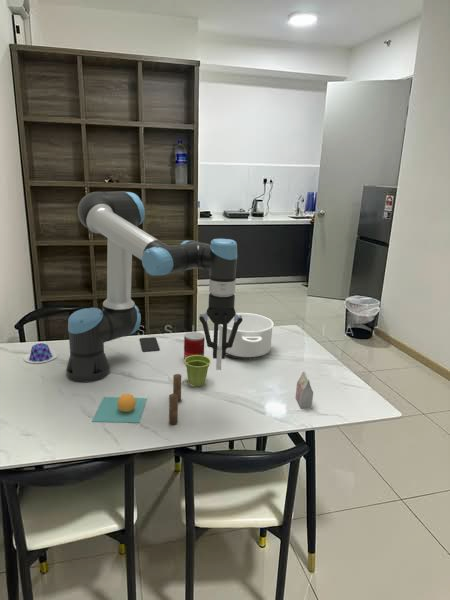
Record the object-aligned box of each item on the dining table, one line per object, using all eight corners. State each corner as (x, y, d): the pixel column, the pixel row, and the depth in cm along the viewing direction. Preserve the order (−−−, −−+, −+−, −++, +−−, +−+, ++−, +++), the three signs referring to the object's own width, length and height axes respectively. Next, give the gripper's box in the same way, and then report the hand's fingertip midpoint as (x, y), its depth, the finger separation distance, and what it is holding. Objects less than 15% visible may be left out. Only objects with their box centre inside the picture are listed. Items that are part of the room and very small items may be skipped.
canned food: (203, 365, 162) (203, 339, 158) (182, 364, 162) (183, 338, 159) (204, 357, 169) (205, 332, 166) (184, 356, 169) (185, 331, 166)
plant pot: (213, 379, 151) (214, 357, 149) (204, 391, 143) (204, 368, 140) (190, 374, 154) (190, 353, 151) (179, 386, 145) (179, 363, 143)
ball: (115, 399, 124) (134, 399, 125) (119, 390, 130) (137, 390, 130) (115, 415, 126) (134, 415, 126) (119, 406, 131) (137, 406, 131)
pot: (212, 337, 191) (214, 309, 187) (262, 336, 194) (264, 309, 190) (222, 369, 159) (223, 336, 155) (281, 368, 163) (284, 335, 159)
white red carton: (306, 398, 141) (309, 371, 138) (311, 408, 135) (314, 381, 132) (295, 397, 141) (298, 371, 138) (300, 408, 135) (303, 381, 132)
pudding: (23, 366, 155) (22, 353, 153) (24, 354, 165) (23, 341, 164) (58, 362, 160) (57, 349, 158) (56, 350, 170) (55, 338, 168)
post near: (168, 424, 122) (168, 398, 120) (169, 419, 125) (169, 393, 122) (177, 425, 123) (177, 398, 120) (178, 420, 125) (178, 393, 122)
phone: (155, 337, 187) (160, 349, 173) (155, 338, 187) (160, 351, 173) (139, 338, 185) (142, 351, 171) (139, 339, 185) (142, 353, 171)
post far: (172, 402, 135) (172, 377, 132) (173, 398, 137) (173, 373, 134) (180, 402, 135) (181, 377, 132) (181, 398, 137) (181, 374, 135)
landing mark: (91, 421, 122) (91, 421, 122) (104, 397, 136) (103, 396, 136) (139, 423, 123) (139, 422, 123) (146, 398, 136) (146, 398, 136)
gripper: (198, 296, 115) (196, 372, 122) (245, 297, 116) (240, 374, 122) (199, 289, 122) (197, 361, 129) (243, 290, 123) (239, 363, 130)
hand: (218, 367), depth 126 cm, fingers closed
